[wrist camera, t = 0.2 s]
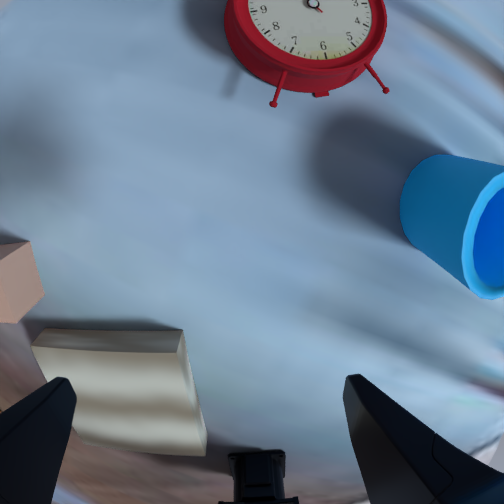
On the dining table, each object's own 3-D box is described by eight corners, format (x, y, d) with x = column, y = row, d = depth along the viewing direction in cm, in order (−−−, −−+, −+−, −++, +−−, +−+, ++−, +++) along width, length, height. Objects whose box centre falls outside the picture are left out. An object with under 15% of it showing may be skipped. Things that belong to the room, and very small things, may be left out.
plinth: (207, 434, 30) (205, 456, 27) (91, 425, 30) (84, 443, 27) (182, 330, 25) (176, 352, 22) (44, 328, 25) (30, 345, 22)
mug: (391, 253, 23) (446, 303, 16) (404, 146, 20) (474, 158, 13) (494, 254, 24) (551, 292, 16) (509, 169, 21) (575, 188, 13)
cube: (45, 294, 24) (16, 323, 19) (9, 294, 24) (-20, 320, 19) (30, 241, 22) (-5, 263, 17) (-6, 245, 22) (-39, 266, 17)
